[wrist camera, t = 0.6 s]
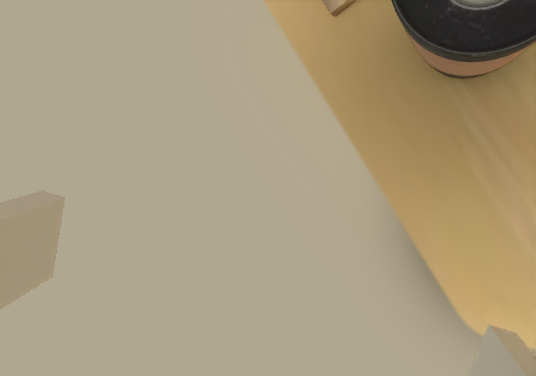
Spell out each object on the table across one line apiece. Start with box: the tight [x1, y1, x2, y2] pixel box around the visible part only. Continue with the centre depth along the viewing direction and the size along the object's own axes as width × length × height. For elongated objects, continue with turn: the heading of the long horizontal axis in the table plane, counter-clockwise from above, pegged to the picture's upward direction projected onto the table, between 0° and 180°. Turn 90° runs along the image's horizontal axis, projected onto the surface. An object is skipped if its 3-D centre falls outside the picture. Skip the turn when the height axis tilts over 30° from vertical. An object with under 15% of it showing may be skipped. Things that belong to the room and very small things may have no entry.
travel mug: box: [392, 0, 536, 78], centre depth 25 cm, size 8×8×20 cm
